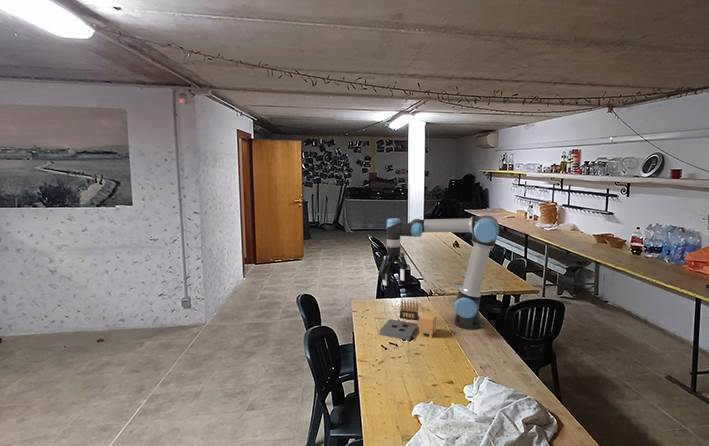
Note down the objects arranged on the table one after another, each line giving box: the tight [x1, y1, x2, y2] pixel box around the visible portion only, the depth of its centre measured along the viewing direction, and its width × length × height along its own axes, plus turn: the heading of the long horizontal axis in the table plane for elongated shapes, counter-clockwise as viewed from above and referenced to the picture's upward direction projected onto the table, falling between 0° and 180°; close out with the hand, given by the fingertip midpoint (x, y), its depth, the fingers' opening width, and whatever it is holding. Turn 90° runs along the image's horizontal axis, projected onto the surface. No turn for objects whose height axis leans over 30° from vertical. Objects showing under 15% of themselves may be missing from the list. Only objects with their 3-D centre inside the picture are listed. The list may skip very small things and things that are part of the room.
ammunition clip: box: [399, 298, 419, 321], centre depth 233 cm, size 11×2×12 cm, turn 71°
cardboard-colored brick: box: [418, 312, 437, 338], centre depth 212 cm, size 7×8×10 cm
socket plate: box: [378, 318, 419, 341], centre depth 216 cm, size 17×17×2 cm
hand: (393, 282), depth 224 cm, fingers open, 13 cm apart
